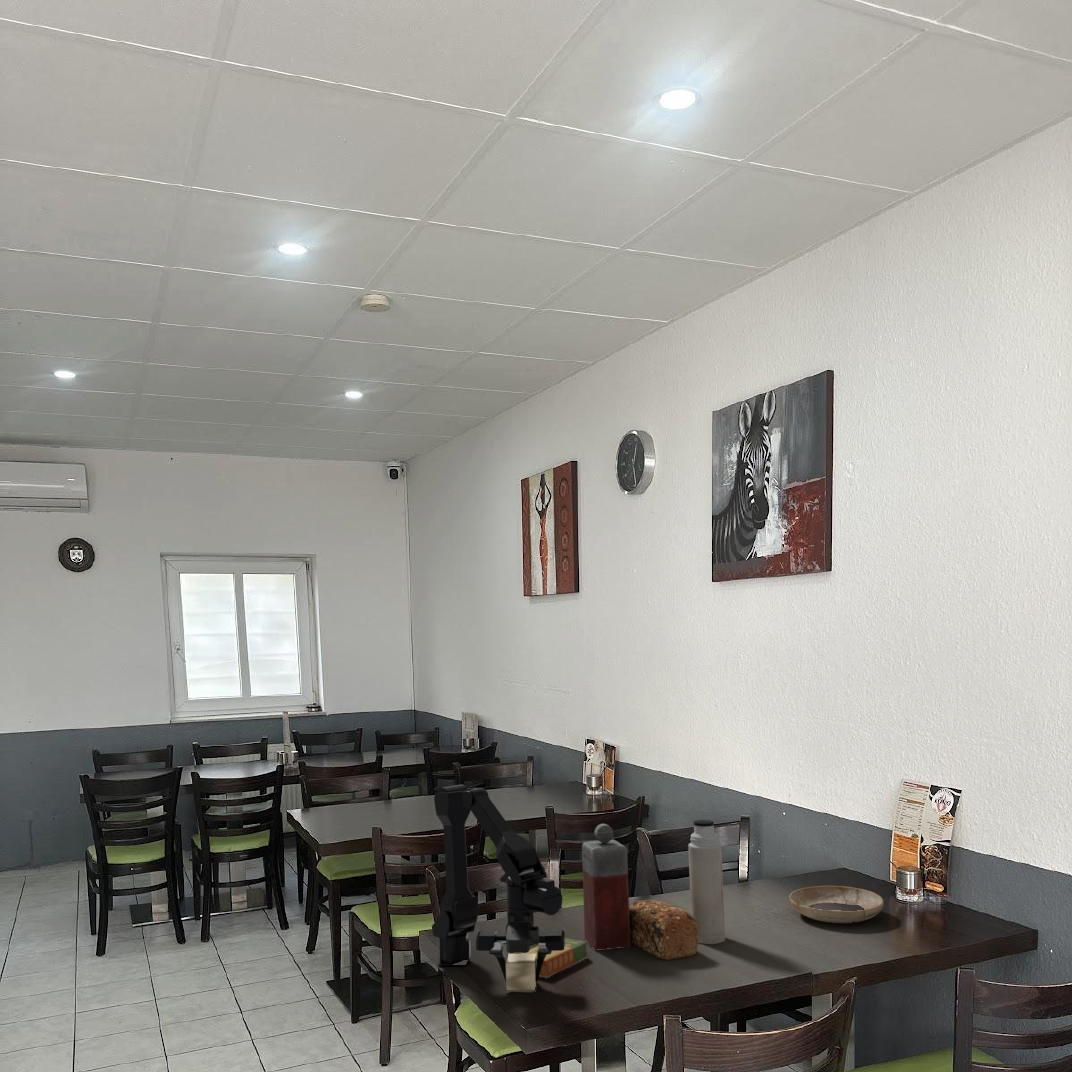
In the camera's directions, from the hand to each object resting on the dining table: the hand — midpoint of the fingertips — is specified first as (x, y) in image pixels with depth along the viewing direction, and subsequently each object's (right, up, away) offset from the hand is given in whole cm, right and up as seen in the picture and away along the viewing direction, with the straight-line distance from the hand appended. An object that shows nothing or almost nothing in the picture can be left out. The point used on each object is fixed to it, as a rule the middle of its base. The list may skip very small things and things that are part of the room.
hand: (521, 981), depth 201 cm
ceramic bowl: (+81, -4, +45) cm, 93 cm away
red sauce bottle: (+20, -4, +29) cm, 35 cm away
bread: (+33, -3, +24) cm, 41 cm away
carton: (+7, -3, +13) cm, 15 cm away
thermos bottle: (+45, -3, +29) cm, 54 cm away
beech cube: (0, -1, 0) cm, 1 cm away
